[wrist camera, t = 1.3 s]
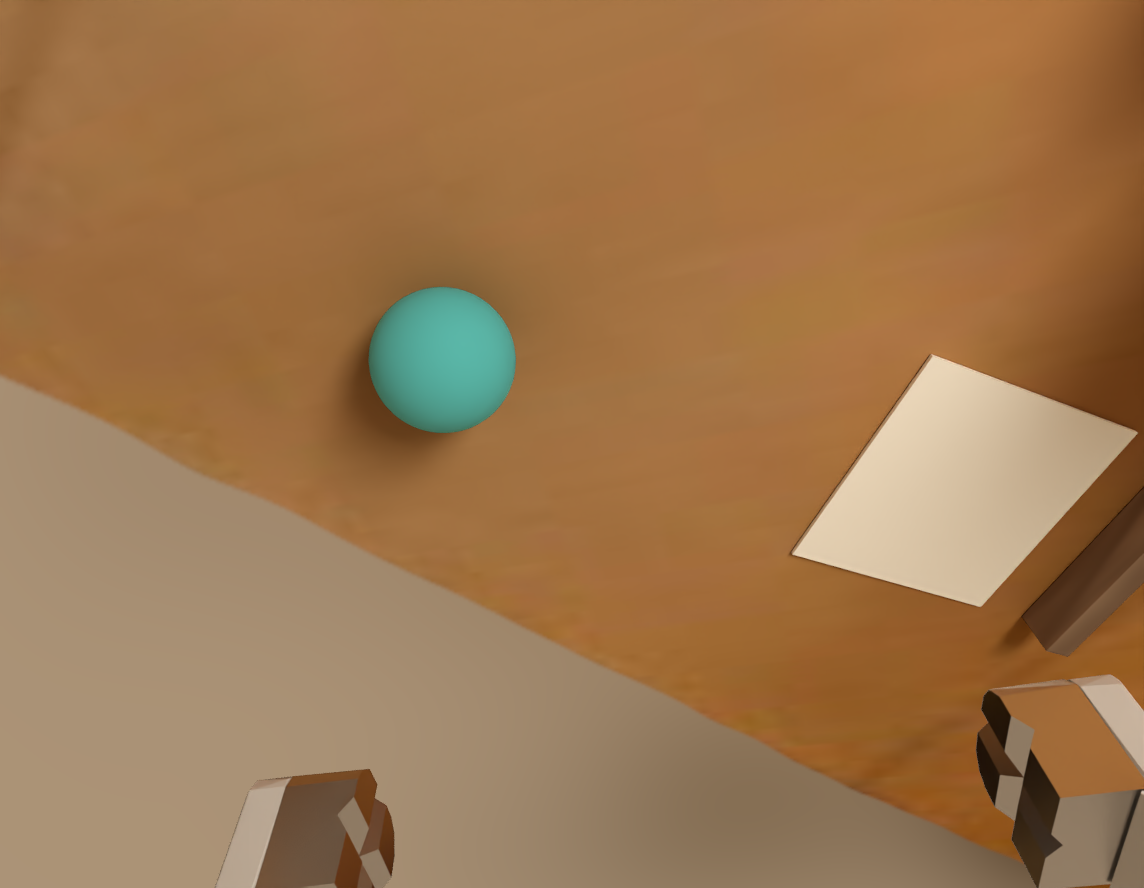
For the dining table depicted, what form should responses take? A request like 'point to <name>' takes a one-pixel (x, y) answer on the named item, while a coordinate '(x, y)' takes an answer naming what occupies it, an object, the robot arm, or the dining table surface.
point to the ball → (442, 360)
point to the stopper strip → (1092, 584)
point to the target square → (960, 483)
